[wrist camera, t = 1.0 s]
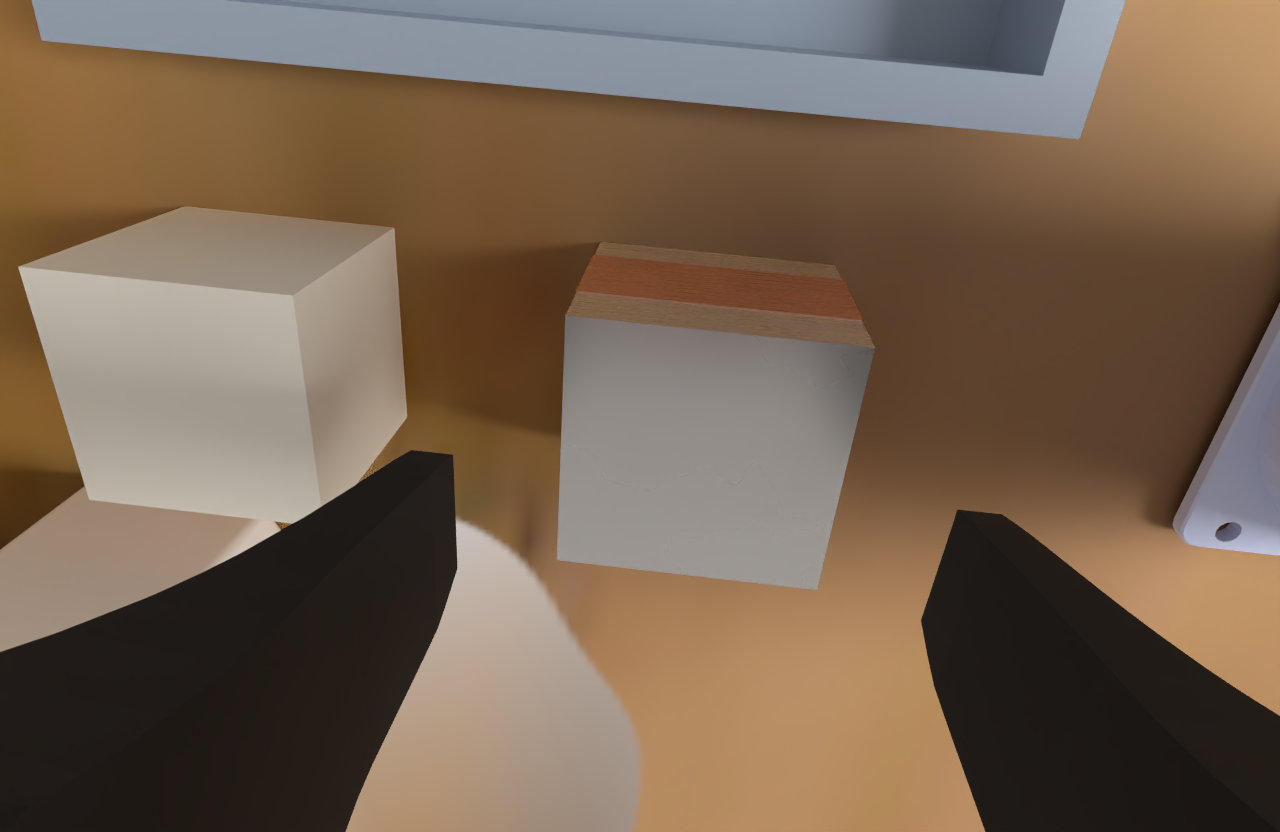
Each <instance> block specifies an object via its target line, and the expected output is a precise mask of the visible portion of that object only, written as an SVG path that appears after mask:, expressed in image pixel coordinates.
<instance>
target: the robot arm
mask: <svg viewBox="0 0 1280 832" xmlns="http://www.w3.org/2000/svg"><path fill="white" fill-rule="evenodd" d="M1225 523H1230V524H1229V525H1228V526H1227V527H1226V528H1224V529H1222V530H1220V531H1216V530H1217V529H1218V528H1219V527H1220V526H1221V525H1223V524H1225ZM1173 528H1174V531H1175V532H1176V534H1177V535H1178V536H1179V537H1180V538H1181V539H1182V540H1183V541H1184V542H1185V543H1187V544H1189V545H1192V546H1197V547H1206V548H1215V549H1224V550H1233V551H1242V552H1251V553H1260V554H1269V555H1278V556H1280V304H1279V306H1278V308H1277V310H1276V312H1275V314H1274V316H1273V318H1272V320H1271V322H1270V324H1269V326H1268V328H1267V330H1266V332H1265V334H1264V337H1263V339H1262V341H1261V343H1260V345H1259V347H1258V349H1257V351H1256V353H1255V355H1254V357H1253V359H1252V361H1251V363H1250V365H1249V367H1248V369H1247V371H1246V373H1245V375H1244V377H1243V379H1242V381H1241V383H1240V385H1239V387H1238V389H1237V391H1236V393H1235V395H1234V397H1233V400H1232V402H1231V404H1230V406H1229V408H1228V410H1227V412H1226V414H1225V416H1224V418H1223V420H1222V422H1221V424H1220V426H1219V428H1218V430H1217V432H1216V434H1215V436H1214V438H1213V440H1212V442H1211V444H1210V446H1209V448H1208V450H1207V452H1206V454H1205V456H1204V458H1203V460H1202V462H1201V465H1200V467H1199V469H1198V471H1197V473H1196V475H1195V477H1194V479H1193V481H1192V483H1191V485H1190V487H1189V489H1188V491H1187V493H1186V495H1185V497H1184V499H1183V501H1182V503H1181V505H1180V507H1179V509H1178V511H1177V513H1176V515H1175V517H1174V521H1173ZM456 571H457V547H456V520H455V494H454V468H453V455H450V454H441V453H432V452H422V451H413V450H411V451H409V452H407V453H406V454H404V455H402V456H400V457H399V458H397V459H395V460H394V461H392V462H391V463H389V464H387V465H386V466H384V467H383V468H381V469H380V470H378V471H376V472H375V473H373V474H372V475H370V476H369V477H367V478H366V479H364V480H363V481H361V482H359V483H358V484H356V485H355V486H353V487H352V488H350V489H349V490H347V491H345V492H344V493H342V494H341V495H339V496H337V497H336V498H334V499H333V500H331V501H329V502H328V503H326V504H325V505H323V506H321V507H320V508H318V509H317V510H315V511H313V512H312V513H310V514H309V515H307V516H305V517H304V518H302V519H300V520H298V521H297V522H295V523H293V524H291V525H289V526H288V527H286V528H284V529H282V530H281V531H279V532H277V533H275V534H274V535H272V536H270V537H268V538H267V539H265V540H263V541H261V542H259V543H258V544H256V545H254V546H252V547H251V548H249V549H247V550H245V551H244V552H242V553H240V554H238V555H236V556H234V557H232V558H230V559H228V560H226V561H224V562H222V563H220V564H218V565H216V566H214V567H212V568H210V569H208V570H206V571H204V572H202V573H200V574H198V575H196V576H193V577H191V578H189V579H187V580H185V581H183V582H180V583H178V584H176V585H174V586H172V587H170V588H167V589H165V590H163V591H161V592H159V593H156V594H154V595H152V596H149V597H147V598H145V599H142V600H140V601H137V602H134V603H132V604H129V605H127V606H124V607H122V608H119V609H117V610H114V611H111V612H109V613H106V614H104V615H101V616H99V617H96V618H93V619H91V620H88V621H86V622H83V623H81V624H78V625H75V626H73V627H70V628H68V629H65V630H63V631H60V632H57V633H54V634H52V635H49V636H46V637H43V638H40V639H37V640H34V641H31V642H28V643H25V644H22V645H19V646H16V647H13V648H10V649H7V650H4V651H2V652H0V832H345V831H346V829H347V826H348V823H349V820H350V818H351V815H352V812H353V810H354V807H355V804H356V801H357V799H358V796H359V794H360V792H361V789H362V787H363V785H364V782H365V780H366V778H367V775H368V773H369V771H370V768H371V766H372V764H373V762H374V760H375V758H376V755H377V754H378V752H379V749H380V747H381V745H382V743H383V741H384V739H385V737H386V735H387V733H388V731H389V729H390V727H391V725H392V723H393V721H394V718H395V716H396V714H397V712H398V710H399V708H400V706H401V704H402V702H403V700H404V698H405V696H406V694H407V692H408V690H409V687H410V686H411V683H412V681H413V679H414V677H415V675H416V673H417V671H418V669H419V667H420V664H421V663H422V661H423V658H424V656H425V654H426V652H427V650H428V648H429V646H430V644H431V642H432V639H433V637H434V635H435V633H436V630H437V629H438V626H439V623H440V620H441V617H442V614H443V611H444V608H445V605H446V602H447V599H448V595H449V593H450V590H451V587H452V583H453V580H454V577H455V574H456ZM921 622H922V628H923V633H924V639H925V644H926V649H927V655H928V660H929V664H930V669H931V673H932V678H933V682H934V686H935V690H936V693H937V696H938V699H939V702H940V705H941V707H942V710H943V713H944V716H945V719H946V722H947V725H948V728H949V731H950V733H951V736H952V739H953V742H954V745H955V748H956V750H957V753H958V756H959V759H960V762H961V764H962V767H963V770H964V773H965V776H966V778H967V781H968V784H969V787H970V790H971V792H972V795H973V798H974V801H975V804H976V807H977V809H978V812H979V815H980V818H981V821H982V823H983V826H984V829H985V832H1280V716H1279V715H1277V714H1276V713H1274V712H1273V711H1271V710H1269V709H1268V708H1266V707H1265V706H1263V705H1261V704H1260V703H1258V702H1257V701H1255V700H1253V699H1252V698H1250V697H1249V696H1247V695H1245V694H1244V693H1242V692H1241V691H1239V690H1238V689H1236V688H1235V687H1233V686H1232V685H1230V684H1229V683H1227V682H1226V681H1224V680H1223V679H1221V678H1220V677H1218V676H1217V675H1215V674H1214V673H1212V672H1211V671H1209V670H1208V669H1206V668H1205V667H1203V666H1202V665H1201V664H1199V663H1198V662H1196V661H1195V660H1194V659H1192V658H1191V657H1189V656H1188V655H1187V654H1185V653H1184V652H1182V651H1181V650H1180V649H1178V648H1177V647H1175V646H1174V645H1173V644H1171V643H1170V642H1168V641H1167V640H1166V639H1164V638H1163V637H1161V636H1160V635H1159V634H1157V633H1156V632H1155V631H1153V630H1152V629H1151V628H1149V627H1148V626H1147V625H1145V624H1144V623H1142V622H1141V621H1140V620H1138V619H1137V618H1136V617H1134V616H1133V615H1132V614H1131V613H1129V612H1128V611H1127V610H1125V609H1124V608H1123V607H1121V606H1120V605H1119V604H1118V603H1116V602H1115V601H1114V600H1112V599H1111V598H1110V597H1109V596H1107V595H1106V594H1105V593H1103V592H1102V591H1101V590H1100V589H1098V588H1097V587H1096V586H1095V585H1093V584H1092V583H1091V582H1089V581H1088V580H1087V579H1086V578H1084V577H1083V576H1082V575H1081V574H1079V573H1078V572H1077V571H1076V570H1074V569H1073V568H1072V567H1071V566H1069V565H1068V564H1067V563H1066V562H1064V561H1063V560H1062V559H1061V558H1059V557H1058V556H1057V555H1056V554H1054V553H1053V552H1052V551H1050V550H1049V549H1048V548H1047V547H1045V546H1044V545H1043V544H1042V543H1040V542H1039V541H1038V540H1036V539H1035V538H1034V537H1033V536H1031V535H1030V534H1029V533H1027V532H1026V531H1025V530H1023V529H1022V528H1021V527H1019V526H1018V525H1016V524H1015V523H1014V522H1012V521H1011V520H1009V519H1008V518H1006V517H1005V516H1003V515H1001V514H992V513H983V512H974V511H965V510H957V513H956V516H955V519H954V522H953V526H952V529H951V532H950V535H949V538H948V541H947V544H946V547H945V550H944V553H943V556H942V559H941V562H940V565H939V568H938V571H937V574H936V577H935V580H934V583H933V586H932V589H931V592H930V595H929V598H928V601H927V604H926V607H925V610H924V613H923V616H922V619H921Z"/></svg>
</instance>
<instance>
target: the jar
mask: <svg viewBox="0 0 1280 832" xmlns="http://www.w3.org/2000/svg"><path fill="white" fill-rule="evenodd" d="M279 531H281V529H280V528H279V526H278V525H277V523H276V522H275V521H267V520H258V519H249V518H241V517H232V516H224V515H215V514H206V513H198V512H189V511H181V510H172V509H164V508H155V507H146V506H138V505H129V504H121V503H112V502H103V501H95V500H89V498H88V494H87V491H86V488H85V486H84V487H82V488H81V489H80V490H78V491H77V492H76V493H74V494H73V495H72V496H70V497H69V498H68V499H66V500H65V501H64V502H62V503H61V504H60V505H58V506H57V507H56V508H55V509H53V510H52V511H51V512H49V513H48V514H47V515H45V516H44V517H43V518H41V519H40V520H39V521H37V522H36V523H35V524H33V525H32V526H31V527H29V528H28V529H27V530H25V531H24V532H23V533H21V534H20V535H19V536H17V537H16V538H15V539H13V540H12V541H11V542H9V543H8V544H7V545H5V546H4V547H3V548H1V549H0V652H2V651H4V650H7V649H10V648H13V647H16V646H19V645H22V644H25V643H28V642H31V641H34V640H37V639H40V638H43V637H46V636H49V635H52V634H54V633H57V632H60V631H63V630H65V629H68V628H70V627H73V626H75V625H78V624H81V623H83V622H86V621H88V620H91V619H93V618H96V617H99V616H101V615H104V614H106V613H109V612H111V611H114V610H117V609H119V608H122V607H124V606H127V605H129V604H132V603H134V602H137V601H140V600H142V599H145V598H147V597H149V596H152V595H154V594H156V593H159V592H161V591H163V590H165V589H167V588H170V587H172V586H174V585H176V584H178V583H180V582H183V581H185V580H187V579H189V578H191V577H193V576H196V575H198V574H200V573H202V572H204V571H206V570H208V569H210V568H212V567H214V566H216V565H218V564H220V563H222V562H224V561H226V560H228V559H230V558H232V557H234V556H236V555H238V554H240V553H242V552H244V551H245V550H247V549H249V548H251V547H252V546H254V545H256V544H258V543H259V542H261V541H263V540H265V539H267V538H268V537H270V536H272V535H274V534H275V533H277V532H279Z"/></svg>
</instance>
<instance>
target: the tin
mask: <svg viewBox="0 0 1280 832" xmlns="http://www.w3.org/2000/svg"><path fill="white" fill-rule="evenodd" d="M863 321H864V320H863V318H862V316H861V314H860V312H859V310H858V308H857V306H856V304H855V302H854V300H853V298H852V296H851V294H850V292H849V290H848V288H847V286H846V284H845V282H844V280H842V279H841V277H840V275H839V273H838V271H837V269H836V267H835V265H832V264H822V263H812V262H802V261H792V260H782V259H772V258H761V257H751V256H741V255H731V254H721V253H711V252H701V251H691V250H681V249H671V248H661V247H651V246H641V245H631V244H621V243H611V242H601V243H600V245H599V247H598V249H597V251H596V253H595V255H593V256H592V258H591V260H590V262H589V264H588V266H587V269H586V271H585V273H584V275H583V277H582V279H581V281H580V283H579V285H578V287H577V289H576V295H575V297H574V299H573V301H572V303H571V305H570V307H569V309H568V311H567V313H566V316H565V342H564V370H563V399H562V428H561V456H560V485H559V513H558V542H557V560H560V561H568V562H577V563H586V564H595V565H603V566H612V567H621V568H629V569H638V570H647V571H655V572H664V573H673V574H682V575H690V576H699V577H708V578H716V579H725V580H734V581H742V582H751V583H760V584H768V585H777V586H786V587H795V588H803V589H812V590H817V588H818V584H819V580H820V576H821V572H822V567H823V563H824V559H825V555H826V551H827V547H828V542H829V538H830V534H831V530H832V526H833V522H834V517H835V513H836V509H837V505H838V501H839V497H840V492H841V488H842V484H843V480H844V476H845V472H846V467H847V463H848V459H849V455H850V451H851V447H852V442H853V438H854V434H855V430H856V426H857V421H858V417H859V413H860V409H861V405H862V401H863V396H864V392H865V388H866V384H867V380H868V376H869V371H870V367H871V363H872V359H873V355H874V351H875V346H874V344H873V342H872V340H871V338H870V336H869V334H868V332H867V330H866V328H865V326H864V324H863Z"/></svg>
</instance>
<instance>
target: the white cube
mask: <svg viewBox="0 0 1280 832" xmlns="http://www.w3.org/2000/svg"><path fill="white" fill-rule="evenodd" d="M18 268H19V271H20V275H21V278H22V281H23V284H24V288H25V291H26V294H27V298H28V301H29V304H30V307H31V311H32V314H33V317H34V321H35V324H36V327H37V330H38V334H39V337H40V340H41V344H42V347H43V350H44V353H45V357H46V360H47V363H48V366H49V370H50V373H51V376H52V380H53V383H54V386H55V389H56V393H57V396H58V399H59V403H60V406H61V409H62V412H63V416H64V419H65V422H66V426H67V429H68V432H69V435H70V439H71V442H72V445H73V448H74V452H75V455H76V458H77V462H78V465H79V468H80V471H81V475H82V478H83V481H84V485H85V488H86V491H87V494H88V498H89V500H95V501H103V502H112V503H121V504H129V505H138V506H146V507H155V508H164V509H172V510H181V511H189V512H198V513H206V514H215V515H224V516H232V517H241V518H249V519H258V520H267V521H275V522H284V523H292V524H293V523H295V522H297V521H298V520H300V519H302V518H304V517H305V516H307V515H309V514H310V513H312V512H313V511H315V510H317V509H318V508H320V507H321V506H323V505H325V504H326V503H328V502H329V501H331V500H333V499H334V498H336V497H337V496H339V495H341V494H342V493H344V492H345V491H347V490H349V489H350V488H352V487H353V486H355V485H356V484H357V483H358V482H359V480H360V479H361V478H362V476H363V475H364V474H365V473H366V471H367V470H368V469H369V467H370V466H371V465H372V463H373V462H374V461H375V459H376V458H377V457H378V455H379V454H380V453H381V451H382V450H383V449H384V447H385V446H386V445H387V443H388V442H389V441H390V439H391V438H392V437H393V435H394V434H395V433H396V431H397V430H398V429H399V428H400V426H401V425H402V424H403V422H404V421H405V420H406V418H407V405H406V391H405V376H404V362H403V347H402V332H401V318H400V303H399V289H398V274H397V260H396V245H395V231H394V227H384V226H375V225H365V224H355V223H345V222H335V221H325V220H316V219H306V218H296V217H286V216H276V215H267V214H257V213H247V212H237V211H227V210H217V209H208V208H198V207H188V206H184V207H181V208H178V209H175V210H173V211H170V212H167V213H164V214H162V215H159V216H156V217H153V218H151V219H148V220H145V221H142V222H140V223H137V224H134V225H131V226H129V227H126V228H123V229H120V230H118V231H115V232H112V233H109V234H107V235H104V236H101V237H98V238H96V239H93V240H90V241H87V242H85V243H82V244H79V245H76V246H73V247H71V248H68V249H65V250H62V251H60V252H57V253H54V254H51V255H49V256H46V257H43V258H40V259H38V260H35V261H32V262H29V263H27V264H24V265H21V266H18Z"/></svg>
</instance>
